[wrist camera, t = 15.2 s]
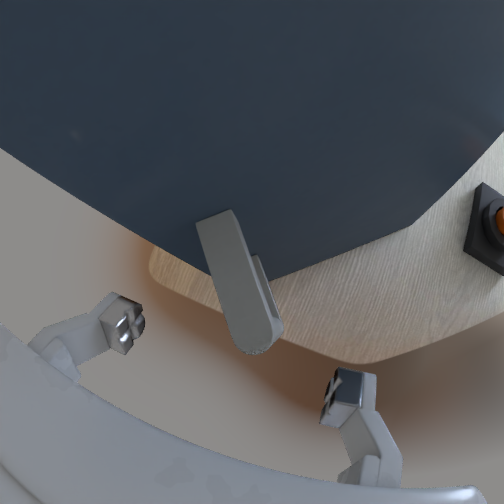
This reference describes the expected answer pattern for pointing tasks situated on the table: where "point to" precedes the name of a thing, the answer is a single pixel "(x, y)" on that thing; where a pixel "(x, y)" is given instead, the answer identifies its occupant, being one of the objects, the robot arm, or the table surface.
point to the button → (500, 220)
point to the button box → (486, 229)
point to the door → (252, 123)
